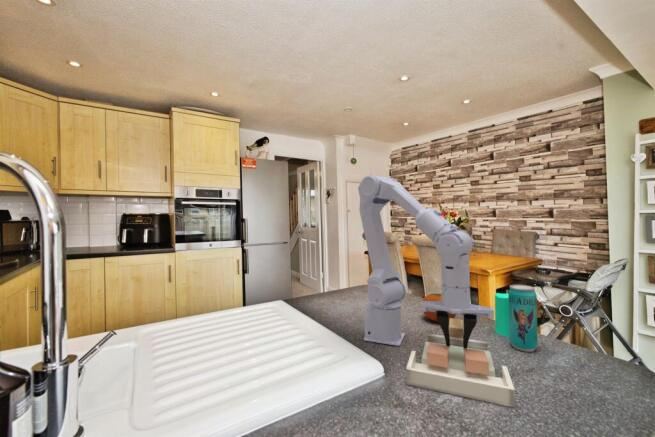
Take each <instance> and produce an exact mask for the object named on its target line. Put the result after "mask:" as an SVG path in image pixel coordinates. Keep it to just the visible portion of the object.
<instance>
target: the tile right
mask: <svg viewBox="0 0 655 437" xmlns="http://www.w3.org/2000/svg"><path fill="white" fill-rule="evenodd" d="M464 363H465V368H466V371H467V372H473V373H480V374H486V375H489V362H488V359H487V356H486V354H485V351H482V350H474V349H465V348H464Z"/></svg>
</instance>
